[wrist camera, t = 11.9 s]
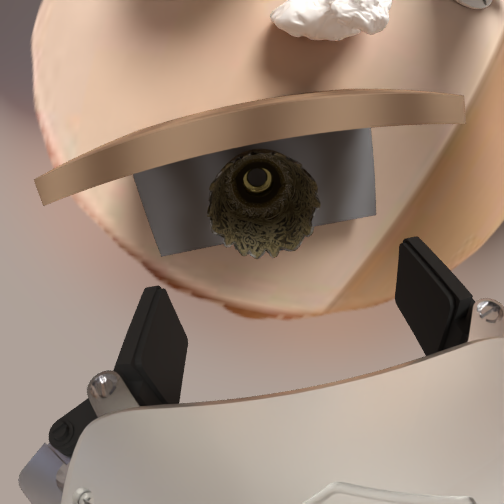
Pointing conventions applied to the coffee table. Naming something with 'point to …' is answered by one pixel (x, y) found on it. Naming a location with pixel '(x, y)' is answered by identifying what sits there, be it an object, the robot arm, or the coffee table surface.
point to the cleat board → (247, 138)
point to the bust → (331, 18)
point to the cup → (263, 204)
